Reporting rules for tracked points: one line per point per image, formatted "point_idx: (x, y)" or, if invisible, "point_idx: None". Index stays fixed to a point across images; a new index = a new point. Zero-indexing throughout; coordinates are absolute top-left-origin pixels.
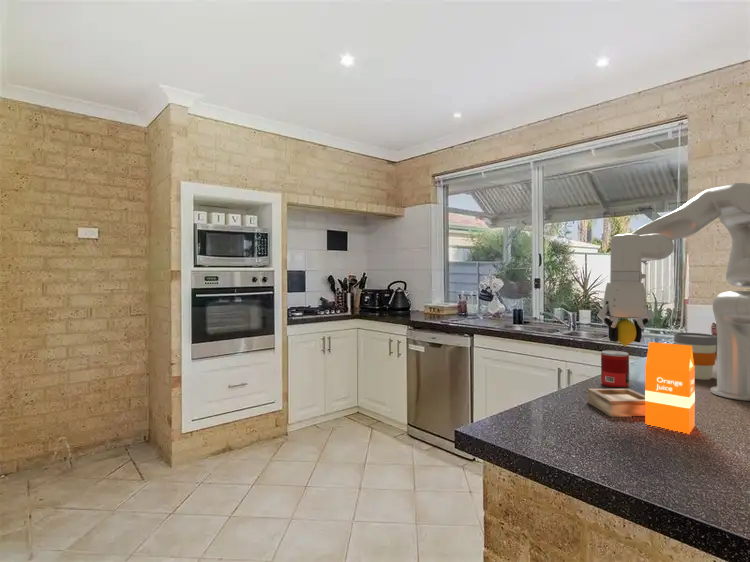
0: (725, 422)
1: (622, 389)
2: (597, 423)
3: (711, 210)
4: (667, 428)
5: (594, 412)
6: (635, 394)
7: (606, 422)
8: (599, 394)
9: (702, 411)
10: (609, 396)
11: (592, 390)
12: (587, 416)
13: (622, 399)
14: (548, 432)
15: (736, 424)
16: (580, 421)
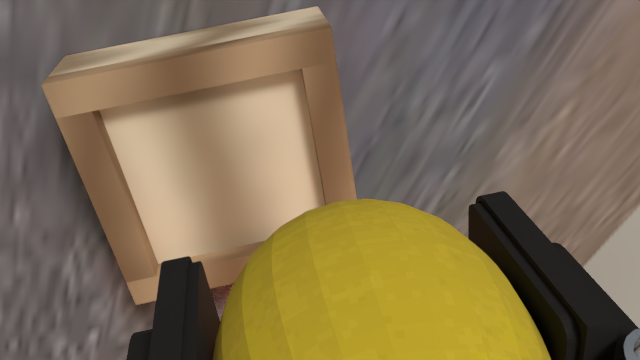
0: (573, 220)
1: (273, 59)
2: (76, 342)
3: None
4: None
5: (81, 219)
6: (315, 142)
7: (114, 324)
8: (100, 205)
9: (595, 95)
10: (169, 148)
11: (68, 126)
12: (42, 278)
13: (205, 265)
14: None
15: (594, 233)
16: (8, 338)
